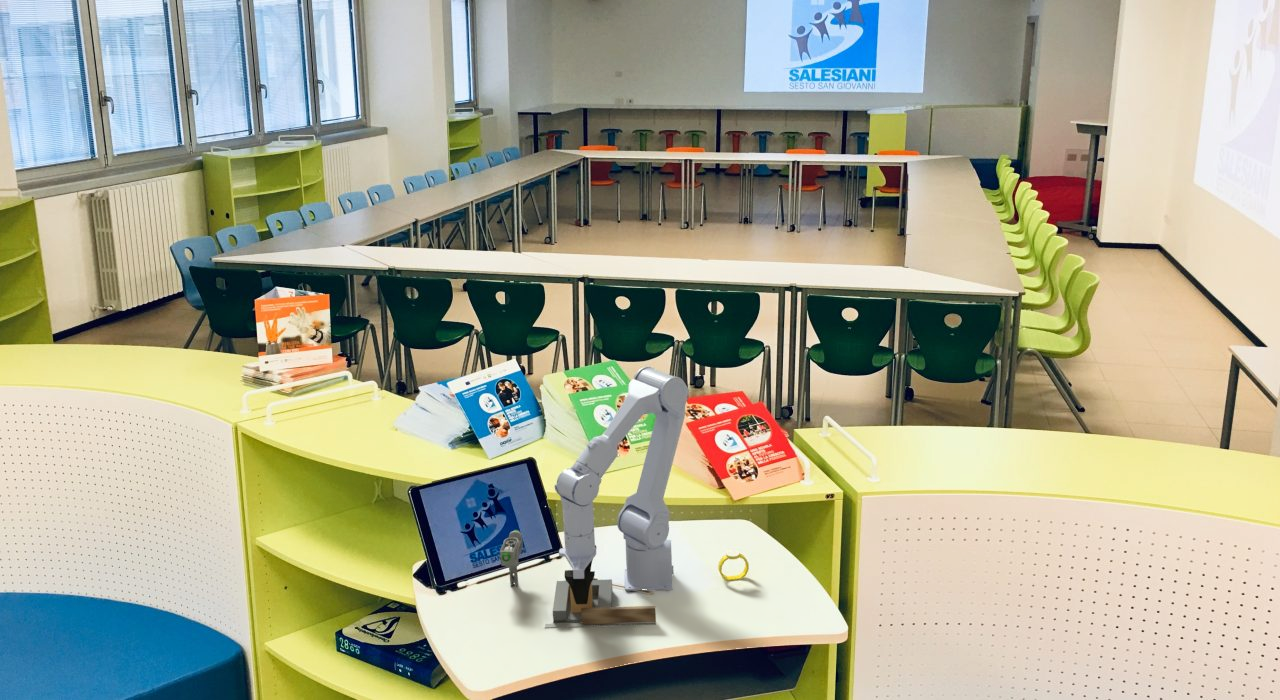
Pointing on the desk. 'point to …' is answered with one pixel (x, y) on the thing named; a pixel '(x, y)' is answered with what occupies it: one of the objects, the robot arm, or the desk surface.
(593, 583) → the housing
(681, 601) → the desk surface
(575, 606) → the jaw block
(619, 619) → the wooden plank
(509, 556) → the mechanical component
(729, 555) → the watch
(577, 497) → the robot arm
